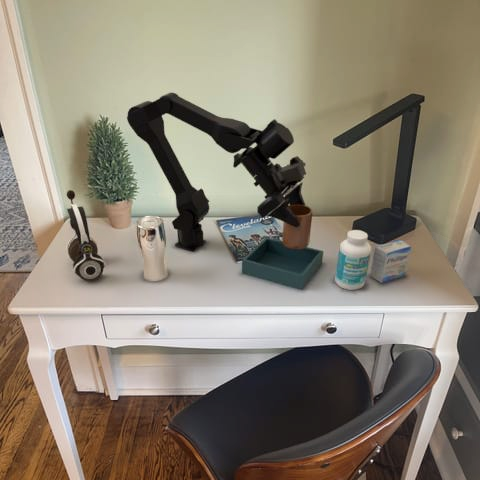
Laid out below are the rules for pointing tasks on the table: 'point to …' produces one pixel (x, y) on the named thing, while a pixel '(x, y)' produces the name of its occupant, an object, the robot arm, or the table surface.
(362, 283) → the pill bottle
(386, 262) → the medicine box
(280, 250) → the tray
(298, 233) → the cup
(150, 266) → the beer glass
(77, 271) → the headset
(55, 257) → the table surface
